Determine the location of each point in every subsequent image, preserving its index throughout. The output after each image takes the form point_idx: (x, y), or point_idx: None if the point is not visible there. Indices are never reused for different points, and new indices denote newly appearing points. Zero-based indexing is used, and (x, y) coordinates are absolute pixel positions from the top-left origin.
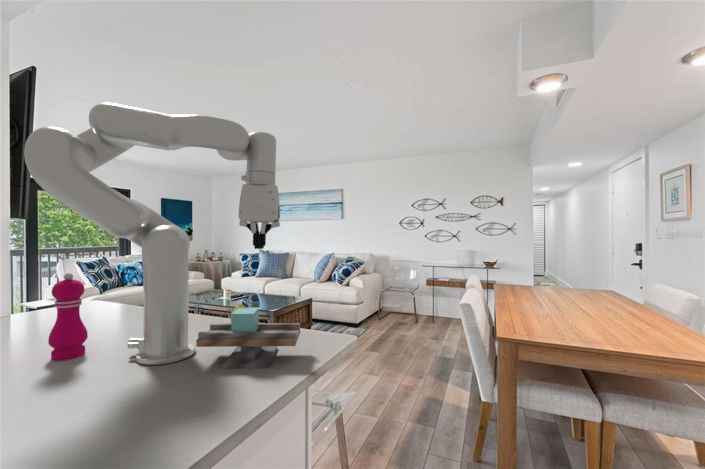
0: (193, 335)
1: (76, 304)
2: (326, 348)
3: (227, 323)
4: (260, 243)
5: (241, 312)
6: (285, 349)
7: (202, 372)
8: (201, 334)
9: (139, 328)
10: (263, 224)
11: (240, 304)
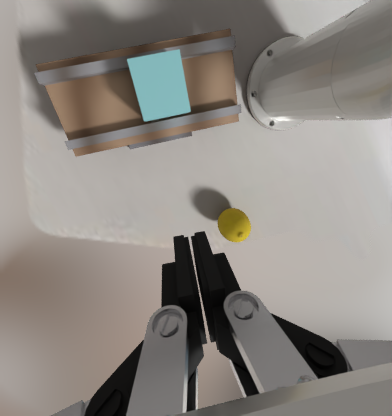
0: (284, 179)
1: None
2: (50, 167)
3: (211, 118)
4: (175, 253)
5: (162, 68)
6: (116, 149)
7: (195, 22)
8: (227, 37)
9: (369, 191)
10: (158, 405)
11: (241, 236)
